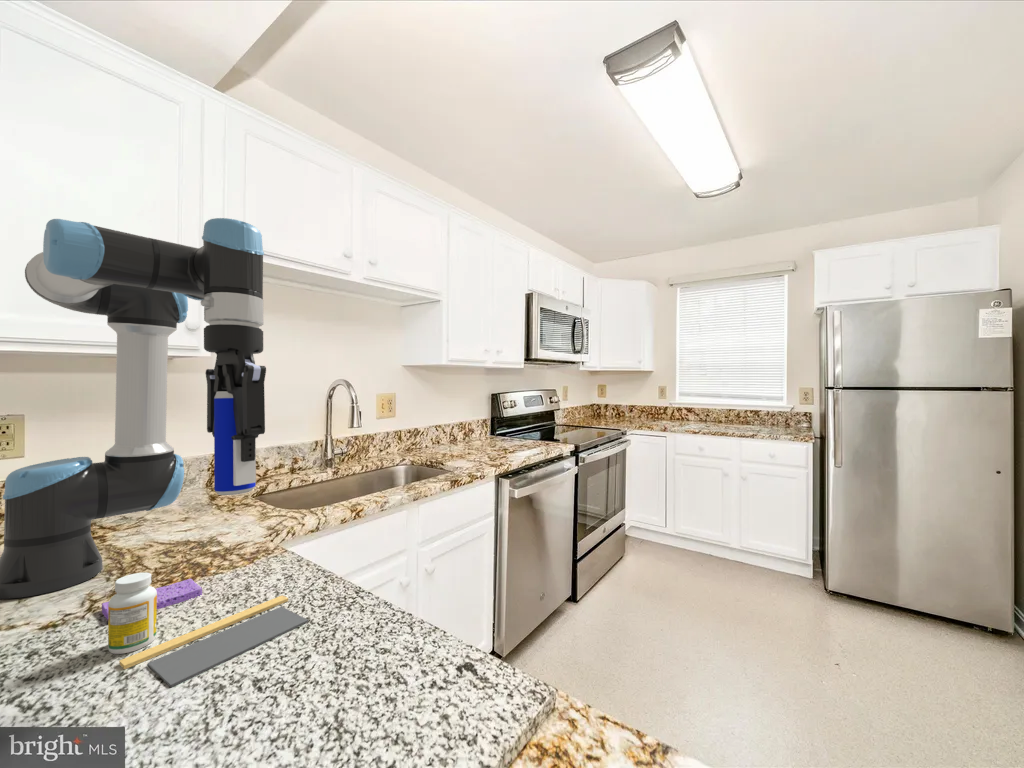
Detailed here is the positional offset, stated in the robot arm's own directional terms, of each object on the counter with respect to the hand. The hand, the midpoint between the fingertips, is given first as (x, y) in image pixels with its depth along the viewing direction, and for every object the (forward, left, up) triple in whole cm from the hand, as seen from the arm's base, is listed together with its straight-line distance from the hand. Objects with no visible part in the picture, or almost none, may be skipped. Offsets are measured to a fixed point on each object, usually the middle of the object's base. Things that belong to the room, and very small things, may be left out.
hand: (235, 481), depth 64 cm
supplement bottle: (-11, -9, -23) cm, 28 cm away
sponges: (-24, -2, -24) cm, 34 cm away
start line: (-6, 0, -23) cm, 24 cm away
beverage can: (0, 0, -2) cm, 2 cm away
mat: (+1, 0, -23) cm, 23 cm away
